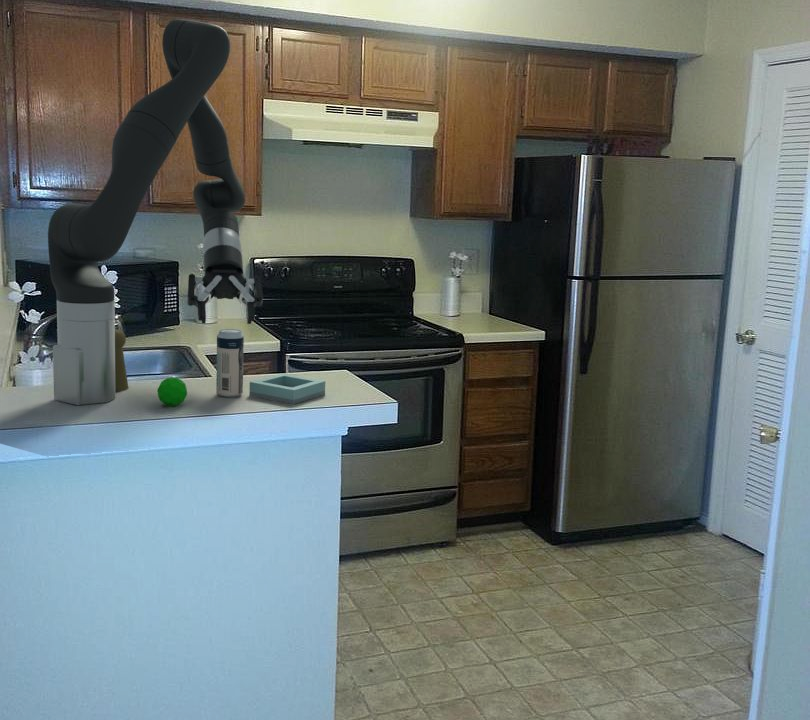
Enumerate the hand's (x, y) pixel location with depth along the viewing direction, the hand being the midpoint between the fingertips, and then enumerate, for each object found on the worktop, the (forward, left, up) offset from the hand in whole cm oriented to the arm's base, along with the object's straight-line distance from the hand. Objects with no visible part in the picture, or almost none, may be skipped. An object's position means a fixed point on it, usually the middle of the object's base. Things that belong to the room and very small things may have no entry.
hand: (226, 321), depth 158 cm
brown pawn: (-15, +14, -13) cm, 24 cm away
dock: (+2, -13, -13) cm, 18 cm away
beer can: (-5, -5, -13) cm, 15 cm away
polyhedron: (-17, -3, -13) cm, 22 cm away
